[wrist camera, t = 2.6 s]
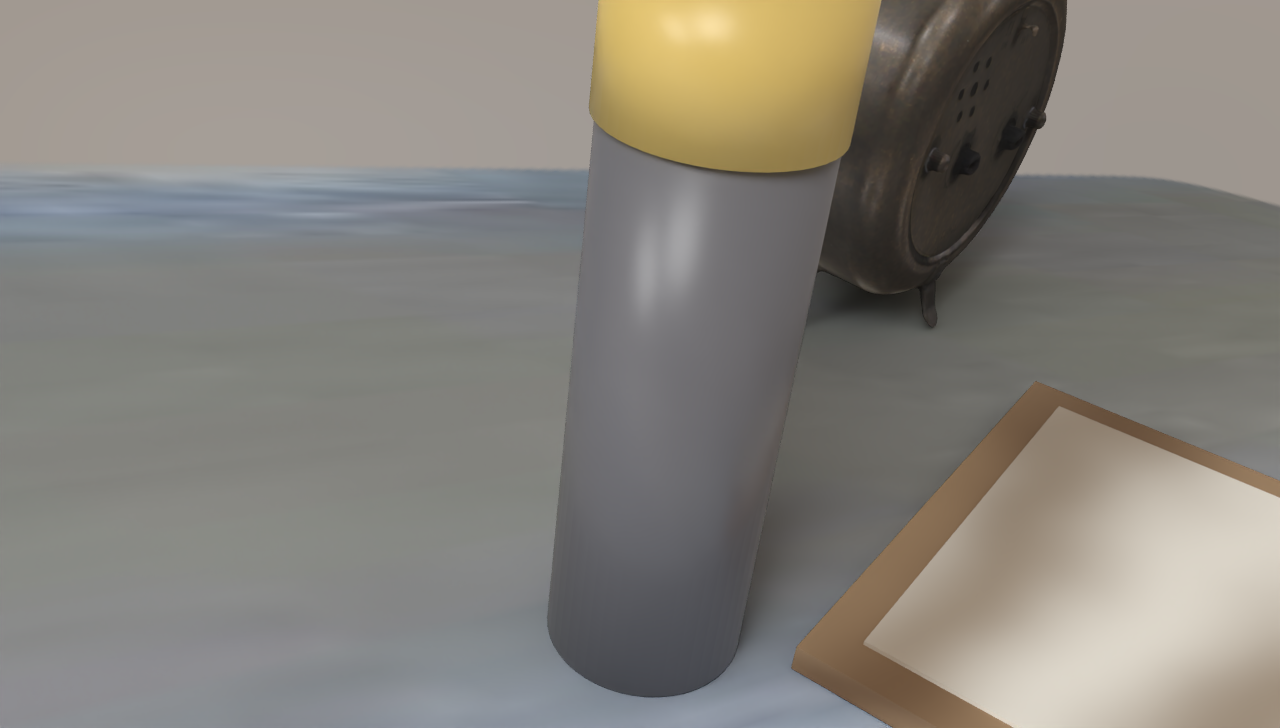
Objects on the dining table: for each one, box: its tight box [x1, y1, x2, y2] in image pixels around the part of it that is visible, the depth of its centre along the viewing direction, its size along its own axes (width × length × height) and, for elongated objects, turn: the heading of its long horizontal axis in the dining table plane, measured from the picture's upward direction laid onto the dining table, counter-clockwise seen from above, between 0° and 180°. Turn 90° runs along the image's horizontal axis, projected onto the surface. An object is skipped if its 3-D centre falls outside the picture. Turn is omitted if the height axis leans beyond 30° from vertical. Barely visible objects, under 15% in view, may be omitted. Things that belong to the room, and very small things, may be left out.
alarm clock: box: [816, 0, 1067, 327], centre depth 34 cm, size 11×5×16 cm, turn 140°
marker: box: [547, 0, 881, 697], centre depth 21 cm, size 4×4×14 cm
